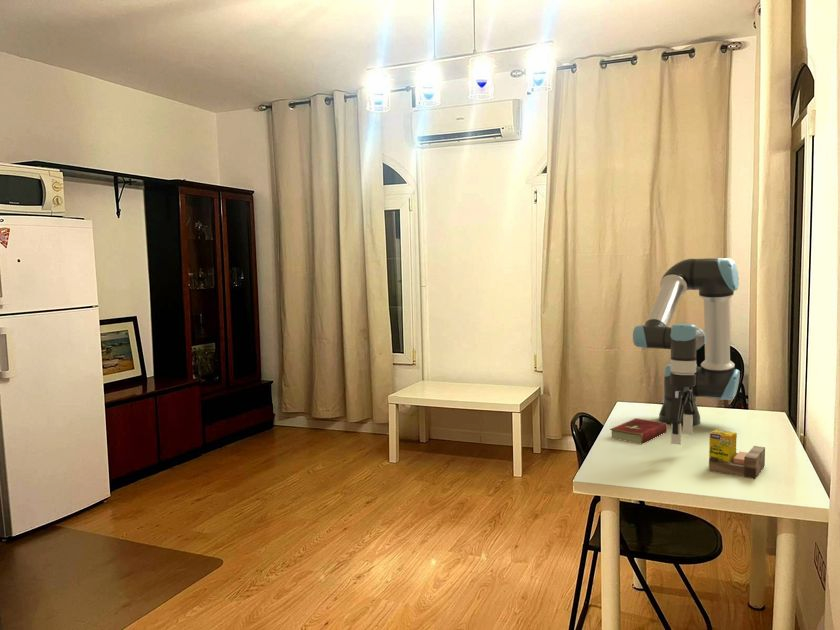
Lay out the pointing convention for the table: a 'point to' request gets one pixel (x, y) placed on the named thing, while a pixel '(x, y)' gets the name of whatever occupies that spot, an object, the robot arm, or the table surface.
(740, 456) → the block
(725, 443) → the supplement box
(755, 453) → the dock
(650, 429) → the hardcover book
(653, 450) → the table surface
